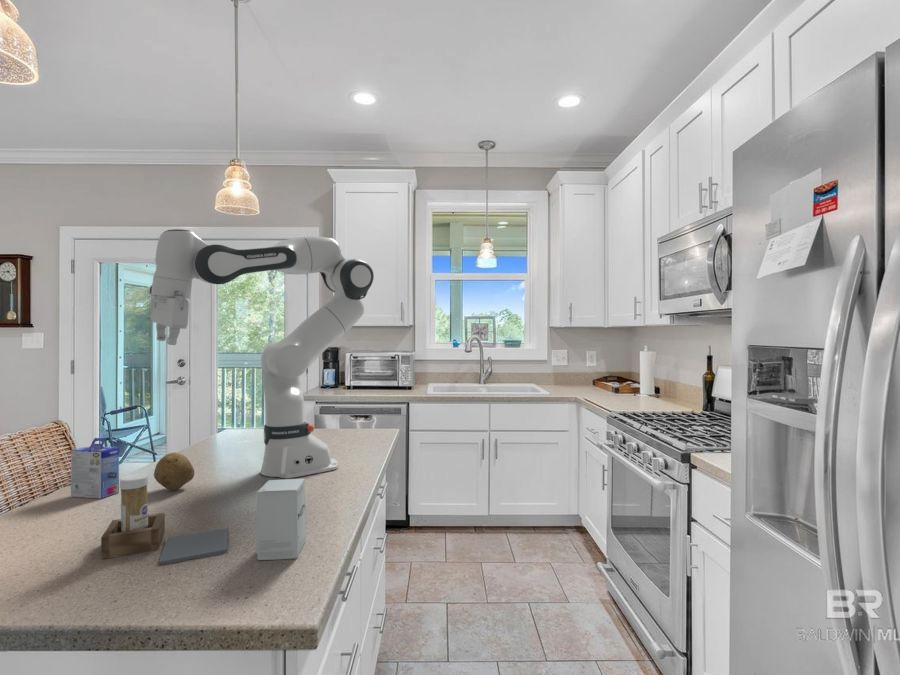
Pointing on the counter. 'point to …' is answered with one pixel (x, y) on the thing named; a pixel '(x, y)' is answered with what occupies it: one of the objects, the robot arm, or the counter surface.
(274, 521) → the supplement box
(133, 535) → the walnut holder
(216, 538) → the rubber mat
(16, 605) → the counter surface
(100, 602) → the counter surface
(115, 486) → the ink cartridge box
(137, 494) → the sprinkles bottle
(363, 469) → the counter surface
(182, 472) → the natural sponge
